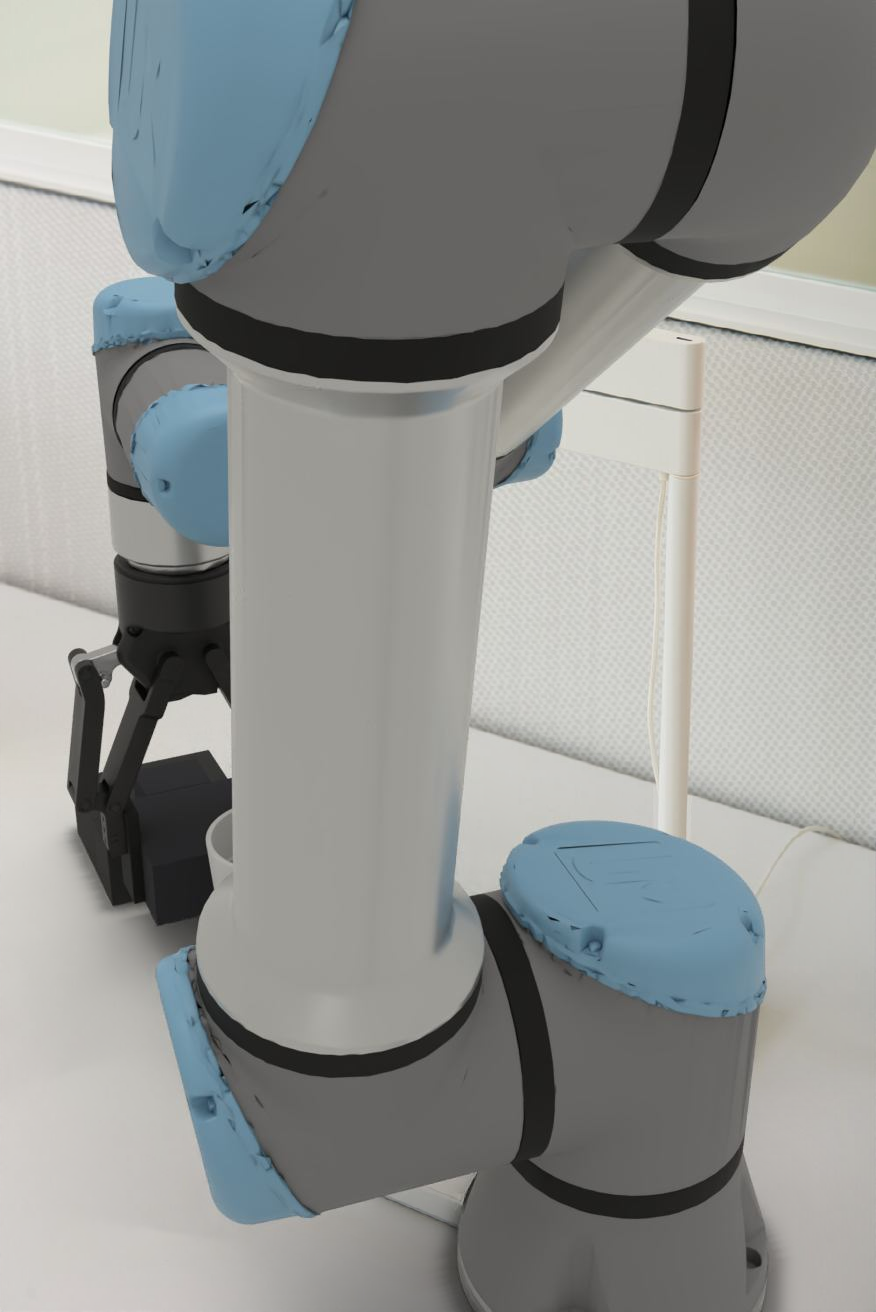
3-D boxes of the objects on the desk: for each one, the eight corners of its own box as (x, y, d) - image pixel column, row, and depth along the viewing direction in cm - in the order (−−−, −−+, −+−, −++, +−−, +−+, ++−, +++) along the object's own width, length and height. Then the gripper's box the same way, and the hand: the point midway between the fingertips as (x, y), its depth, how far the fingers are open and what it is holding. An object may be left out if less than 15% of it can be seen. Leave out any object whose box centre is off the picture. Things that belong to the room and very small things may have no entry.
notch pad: (255, 872, 112) (252, 816, 110) (112, 906, 108) (106, 849, 106) (212, 802, 120) (208, 749, 118) (77, 832, 116) (71, 777, 114)
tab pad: (280, 896, 103) (277, 837, 101) (157, 926, 100) (152, 866, 98) (225, 808, 112) (221, 752, 110) (110, 833, 109) (105, 776, 107)
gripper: (322, 502, 102) (331, 812, 112) (-16, 554, 94) (26, 882, 104) (368, 544, 95) (372, 868, 106) (10, 604, 88) (52, 947, 98)
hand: (200, 875), depth 105 cm, fingers closed on tab pad, 8 cm apart
